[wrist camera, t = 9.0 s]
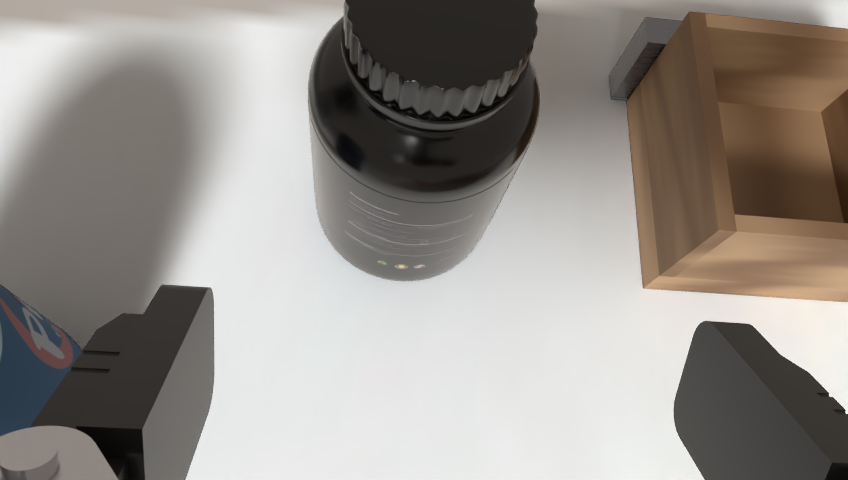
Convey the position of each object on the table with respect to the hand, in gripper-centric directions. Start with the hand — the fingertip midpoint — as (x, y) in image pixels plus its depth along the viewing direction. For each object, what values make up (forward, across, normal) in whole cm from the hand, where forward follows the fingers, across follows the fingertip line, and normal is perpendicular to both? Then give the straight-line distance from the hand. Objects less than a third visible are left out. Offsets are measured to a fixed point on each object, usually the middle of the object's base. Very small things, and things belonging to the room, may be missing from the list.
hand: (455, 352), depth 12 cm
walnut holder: (+18, -14, +2) cm, 23 cm away
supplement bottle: (+17, 0, +4) cm, 17 cm away
